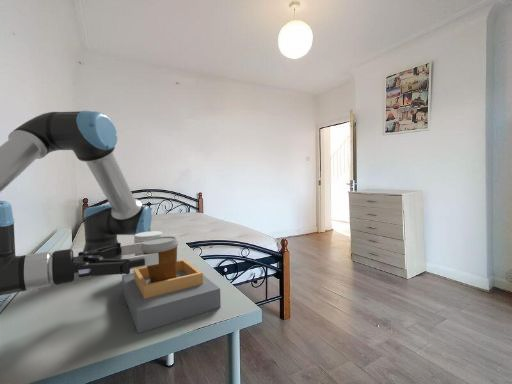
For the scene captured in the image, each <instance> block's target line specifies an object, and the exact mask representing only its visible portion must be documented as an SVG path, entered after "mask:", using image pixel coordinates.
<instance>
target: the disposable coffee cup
mask: <svg viewBox="0 0 512 384" xmlns="http://www.w3.org/2000/svg"><path fill="white" fill-rule="evenodd" d="M178 246H179V240H178V238H177V237H176V236H173V235H171V236H170V235H168V236H167V235H166V236H163V237H157V238H152V239H149V240H146V241H144V242H143V243H142V247H141V250H142V252H143V253H144V255H146V254H152V253H158V256H159V264H156V265H151V266H147V269H148V273H149V277H150V280H151V283H155V282H159V281H164V280H168V279H172V278H176V275H177V261H178Z"/></svg>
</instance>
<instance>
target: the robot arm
mask: <svg viewBox="0 0 512 384" xmlns="http://www.w3.org/2000/svg"><path fill="white" fill-rule="evenodd" d="M7 138H8V140H7V141H5V142H4V143H3V144H2V145H0V193H2V191H4V190H5V189H6V188H7V187H8V186H9V185H11V183H12V182H13V181H14V180H16V179H17V178H18V177H19V176H20V175H21V174H22V173H23V172H24V171H26V169H27V168H28V167H30V165H32V163H34V162H35V161H36V160H40V159H43V158H45V157H46V156H47V155H48V154H50V153H52V152H56V151H72V152H73V153H74V155H75V157H76V158H77V159H78V160H79V161H81V162H84V163H86V165H87V166H88V169H89V170H90V172H91V174H92V175H93V177H94V179H95V180H96V182H97V184H98V186H99V187H100V189H101V191H102V193H103V194H104V196H105V197H106V199H107V201H108V203H109V204H102V205H96V206H90V207H89V206H88V207H86V208H85V209H84V211H83V226H84V240H85V241H84V242H85V243H84V247H83V250H82V251H79V252H78V253H77V255H76V256H74V251H73V249H71V248H68V249H61V250H60V249H59V250H54V251H53V252H52V253H50V252H49V251H44V252H38V253H37V252H36V253H29V254H24V255H16V244H15V243H16V242H15V240H16V239H15V218H14V214H13V207H12V204H11V203H10V202H8V201H6V200H0V297H1V296H6V295H10V294H17V293H20V292H26V291H31V290H33V291H35V292H37V291H38V292H39V291H40V289H41V288H47V287H50V286H51V285H52V284H54V285H56V286H58V285H64V284H68V283H72V282H74V281H75V274H78V278H80V279H81V278H82V279H83V278H87V277H98V276H112V275H126V274H131V270H134V269H136V268H140V267H145V266H151V265H156V264H159V256H158V253H152V254H146V255H140V256H135V253H142V250H141V247H142V243H143V242H142V243H135V244H134V243H130V244H123V245H122V244H121V242H119V241H118V236H134V235H135V234H138V233H142V232H148V230H149V228H150V225H152V221H153V220H152V218H153V215H152V213H153V212H152V210H151V209H150V208H151V207H148V206H146V205H145V206H143V204H142V203H141V202H142V201H140V199H138V198H135V197H134V195H133V193H132V190H131V188H130V187H129V184H128V182H127V180H126V178H125V176H124V173H123V172H122V169H121V167H120V166H119V163H118V161H117V158H116V156H115V155H114V151H115V150H116V144H117V142H118V136H117V129H116V127H115V125H114V122H112V119H110V117H108V116H107V115H106V114H104V113H102V112H101V111H95V110H94V111H92V110H81V111H78V110H77V111H50V112H45V113H42V114H39V115H37V116H35V117H33V118H31V119H29V120H27V121H25V122H23V123H22V124H21V125H19V126H18V127H16V128H15V129H14V130H12V131H11V132H10V133H9V134H8V137H7ZM128 255H129V257H128V258H123V256H128ZM130 255H134V256H130Z"/></svg>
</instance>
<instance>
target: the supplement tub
mask: <svg viewBox="0 0 512 384" xmlns="http://www.w3.org/2000/svg"><path fill="white" fill-rule="evenodd" d="M163 235H164V234H163V231H157V230H154V231H153V230H152V231H150V232H142V233H138V234H135V235H133V237H134V239H133V244H135V243H142V242H144V241H146V240H149V239H152V238H157V237H164V236H163ZM140 255H144V253H143V252H142V253H135V254H134V256H140ZM145 267H146V266H145ZM140 268H141V267H140Z"/></svg>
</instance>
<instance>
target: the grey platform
mask: <svg viewBox="0 0 512 384" xmlns="http://www.w3.org/2000/svg"><path fill="white" fill-rule="evenodd" d="M121 280H122V281H121V282H122V283H121V284H122V286H121V287H122V293H123V297H124V298H125V302H126V304H127V306H128V307H127V308H128V309H129V313H130V315H131V319H132V321H133V323H134V326H135V329H136V332H137V334H140V333H141V334H142V333H143V332H147V331H150V330H154V329H157V328H159V327H162V326H166V325H169V324H172V323H176V322H178V321H181V320H184V319H189V318H190V317H194V316H199V315H200V314H204V313H207V312H209V311H213V310H216V309H218V308H221V307H222V306H221V301H222V300H221V288H220V287H219V286H218V285H216V283H214V282H212V280H211V279H209V278H208V277H206V276H205V275H204V274H203V272H202V271H201V270H199V269H198V268H197V267H196V266H194V265H193V264H192V263H190V262H189V261H188V260H186V259H185V258H184V259H179V260H178V259H177V275H176V278H172V279H168V280H164V281H159V282H155V283H151V280H150V277H149V273H148V269H147V266H146V267H141V268H135V269H133V272H132V273H131V272H130V273H129V274H121Z"/></svg>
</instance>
